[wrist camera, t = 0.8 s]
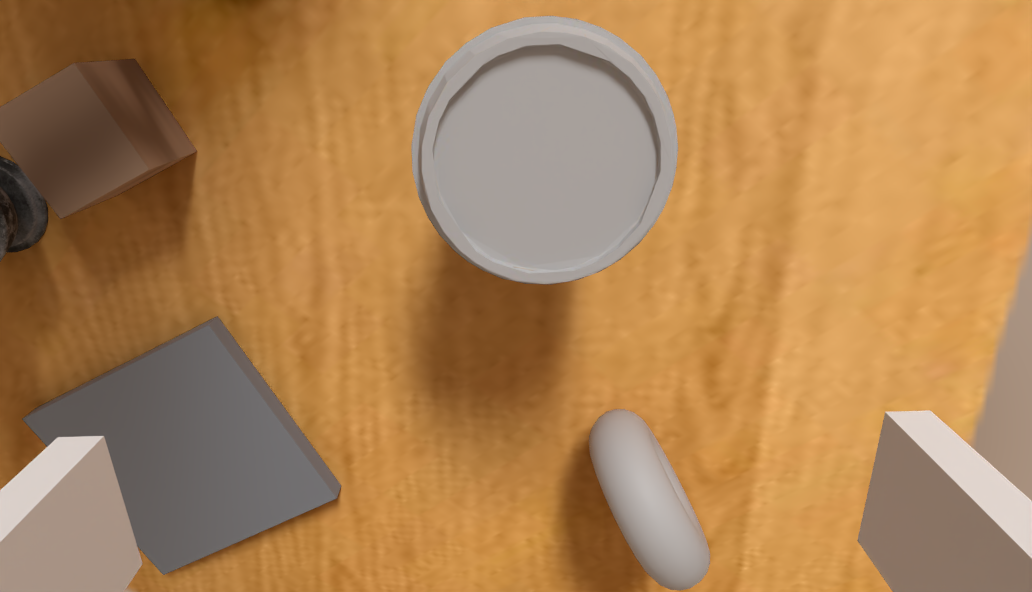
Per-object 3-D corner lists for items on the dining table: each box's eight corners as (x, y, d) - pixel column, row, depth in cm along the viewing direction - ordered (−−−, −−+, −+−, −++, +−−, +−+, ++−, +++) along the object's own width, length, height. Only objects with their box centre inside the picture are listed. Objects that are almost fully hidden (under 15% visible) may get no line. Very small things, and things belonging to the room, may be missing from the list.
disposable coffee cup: (429, 29, 32) (388, 25, 21) (626, 15, 32) (691, 5, 21) (449, 220, 36) (423, 304, 24) (626, 208, 35) (683, 287, 24)
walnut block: (54, 106, 33) (-19, 118, 29) (135, 58, 32) (73, 62, 28) (119, 194, 35) (60, 219, 30) (197, 151, 34) (149, 169, 29)
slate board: (35, 408, 39) (22, 419, 38) (217, 316, 37) (208, 324, 36) (172, 561, 44) (163, 574, 42) (341, 485, 42) (336, 498, 41)
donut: (690, 489, 42) (742, 617, 33) (641, 511, 43) (679, 643, 34) (621, 368, 39) (658, 472, 30) (569, 393, 40) (589, 503, 30)
